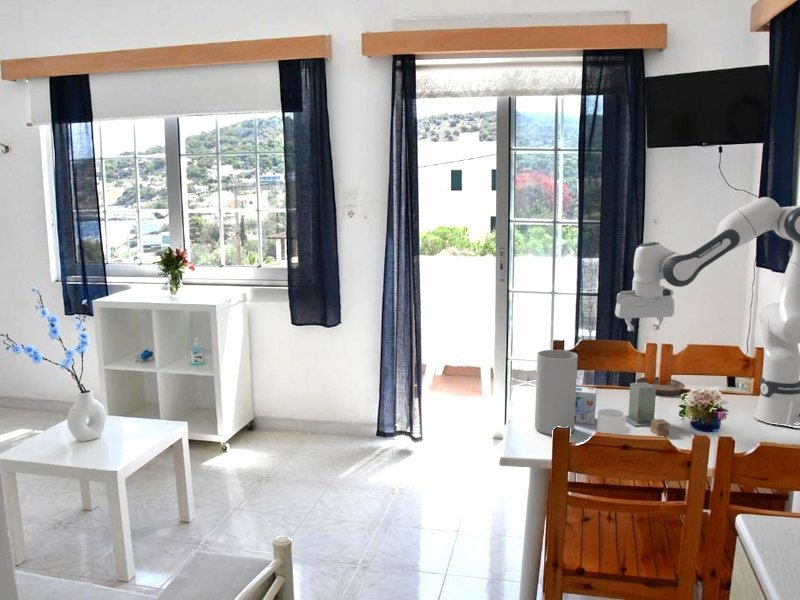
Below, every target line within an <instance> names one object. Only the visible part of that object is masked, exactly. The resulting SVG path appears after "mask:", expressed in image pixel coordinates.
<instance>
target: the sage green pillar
mask: <svg viewBox="0 0 800 600" xmlns="http://www.w3.org/2000/svg"><path fill="white" fill-rule="evenodd" d="M629 385H630V386H629V399H628V400H629V401H628V402H629V403H628V415H627V416H628V418H630V419H631V420H633V421H635V422H636V423H650V422H651V420H654V419H655V412H656V410H655V409H656V398H657V397H656V395H657V394H656V387H655V386H653V385H651V384H649V383H647V382H645V383H637V382H632V383H629Z"/></svg>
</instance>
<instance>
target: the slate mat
mask: <svg viewBox="0 0 800 600" xmlns="http://www.w3.org/2000/svg"><path fill="white" fill-rule="evenodd" d="M628 416H629V415H626V423H628V424H629V425H631V426H632V427H634V428H636V427H637V428H638V427H651V422H650V423H636V422H635V421H633V420H631V419H630V418H628ZM654 420H656V418H654Z"/></svg>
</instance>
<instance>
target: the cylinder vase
mask: <svg viewBox="0 0 800 600" xmlns="http://www.w3.org/2000/svg"><path fill="white" fill-rule="evenodd" d="M577 374H578V354H577V353H576V352H574V351H573V352H572V351H569V350H563V349H546V350H540V351H538V352H537V355H536V380H535V381H536V382H535V383H536V384H535V386H536V387H535V407H534V408H535V411H534V414H535V415H534V428H535V429H536V431H537V432H540V433H541V434H545V435H549V436H552V435H551V434H552V430H553V428H554V427H557V426H561V427H567V426H569V427H571V433H570V434H572V433H573V432H574V430H575V424H576V422H575V401H576V386H577V380H578V379H577V378H578V377H577Z"/></svg>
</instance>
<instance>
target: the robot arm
mask: <svg viewBox="0 0 800 600" xmlns="http://www.w3.org/2000/svg"><path fill="white" fill-rule="evenodd" d="M770 231H771V232H772V233H773V234H774V235H776V236H777V237H779V238H781V239H784V240H788V241H791V243H792V245H793V249H792V254H791V256H790V259H789V261H788V263H787V266H786V268H785V272H784V274H783V277H782V279H781V281H780V299H779V302H775V303H770V304H767V305H766V306H764V307H763V308H762V310H761V311H760V314H759V321H760V324H761V337H762V343H763V344H762V345H763V365H762V375H761V377H760V382H759V398H758V401H757V405H756V407H755V408H756V409H755V410H754V411H755V412H754V413H753V416H755V417H756V418H758V419H760V420H763V421H766V422H771V423H778V424H786V425H791V426H800V424H799V425H795V424H794V423H797V422H799V423H800V350H799V344H800V205H793V206H788V205H786V206H780V204H779V203H778V202H776V200H774V199H773V198H771V197H768V196H763V197H762V196H761V197H759V198H756V199H755V200H752V201H750V202H747V203H746V204H744V205H742V206H740V207H738V208H737V209H735V210H733V211H732V212H730V213H729V214H728V215H726V216H725V217H724V218H722V220H721V221H719V223H718V225H717V229H716V232H715V233H714V235H713V237H712V238H711V239H709V240H708V241H706V242H704V244H701V246H698V247H697V248H696V249H694V250H692V251H691V252H688V253H685V254H681V253H679V252H676V251H675V250H671V249H669V248H667V247H665V246H664V245H662V244H661V243H660V242H658V241H657V242H656V241H655V242H654V241H653V242H644V243H641V244H639V245H638V246H637V247H636V249H635V252H634V257H633V278H632V288H631V290H622V291H620V292H618V294H617V295H616V305H615V310H614V315H615V316H616V317H617V318H618V319H624V321H625V323H626V325H627V331H628V332H634V331H635V325H633V324H632V321H633V320H632V319H642V318H644V319H645V318H649V319H650V318H656V322H655V323H654V324H652V329H653V331H659V330H660V326H661V324H662V322H664V318H671V317H673V316H674V314H675V300H674V297H673V295H674V290H673V289H671V288H668V287H665V286H663V285H661V280H665V282H667V283H668V284H669V285H671V286H673V287H676V288H677V287H678V288H680V287H681V288H682V287H687V286H688V285H690V284H691V283H692V282H693V281H695V279H696V278H697V276H698V275H699V274H700V273H701V271H702V270H703V269H705V268H706V267H707V266H709V265H711V264H712V263H713V262H715V261H717V260H718V259H719V258H721V257H723V256H724V255H726V254H727V253H728V252H731V251H733V250H735V249H737V248H739V247H741V246H743V245H745V244H747V243H749V242H751V241H753V240H754V239H756V238H757V237H760V236H761V235H762V234H764V233H766V232H770ZM797 424H798V423H797Z"/></svg>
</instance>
